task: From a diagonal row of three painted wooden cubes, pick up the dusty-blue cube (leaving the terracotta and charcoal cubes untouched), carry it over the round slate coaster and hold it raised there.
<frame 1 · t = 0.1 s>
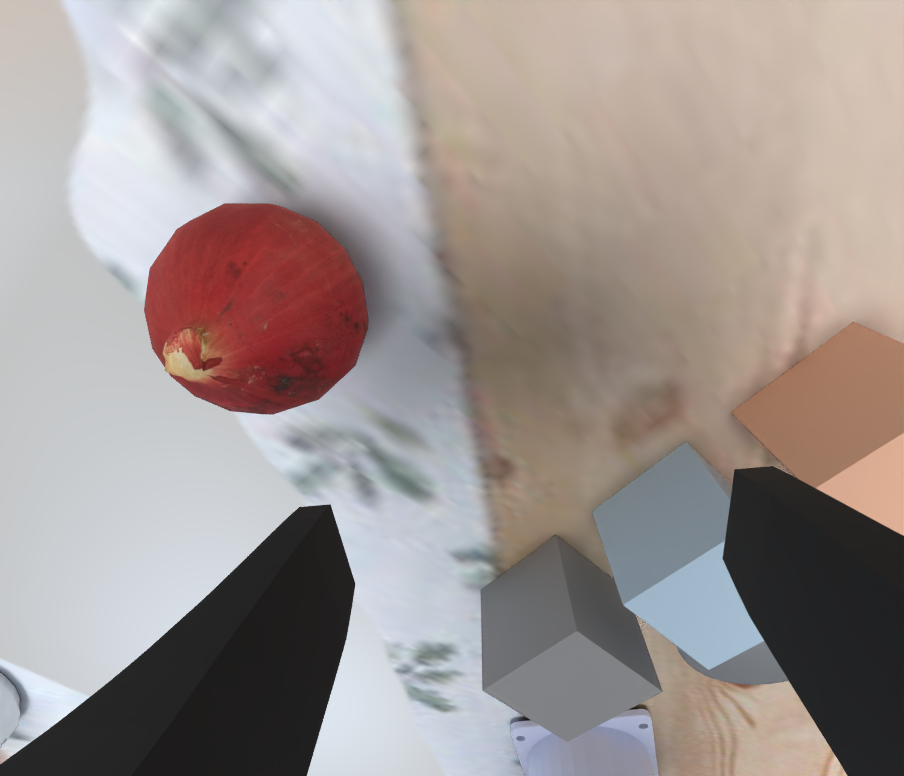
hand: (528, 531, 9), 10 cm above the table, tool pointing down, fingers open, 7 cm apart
blue cube: (672, 508, 21), on the table
slate coaster: (763, 610, 23), on the table
onion: (308, 280, 17), on the table
charcoal cube: (552, 588, 23), on the table
terracotta cube: (823, 408, 18), on the table
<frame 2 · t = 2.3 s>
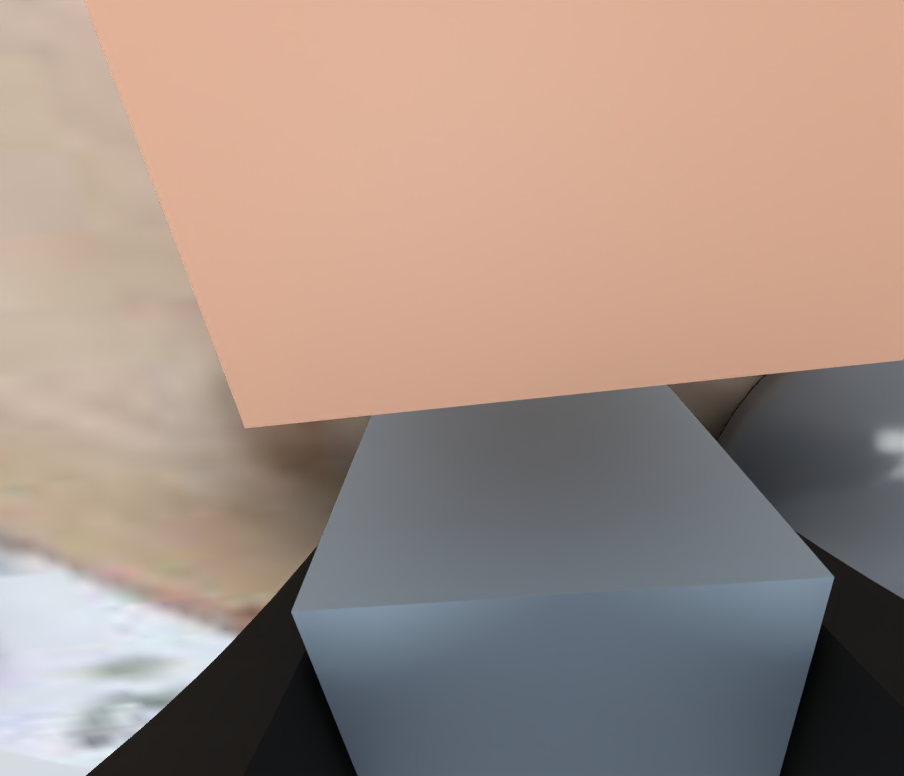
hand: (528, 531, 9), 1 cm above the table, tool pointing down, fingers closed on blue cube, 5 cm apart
blue cube: (520, 483, 10), on the table, touching gripper
terracotta cube: (494, 99, 7), on the table
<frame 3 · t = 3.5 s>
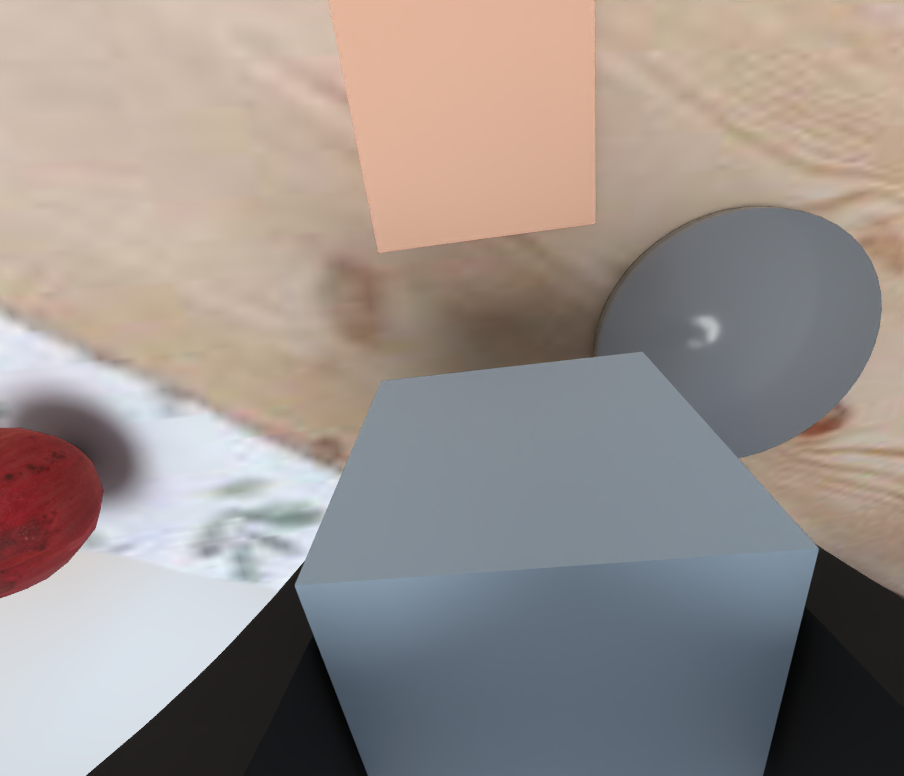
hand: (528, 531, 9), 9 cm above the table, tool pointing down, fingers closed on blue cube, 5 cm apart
blue cube: (518, 473, 10), point 8 cm above the table, touching gripper
slate coaster: (723, 342, 17), on the table
onion: (80, 449, 20), on the table
terracotta cube: (472, 128, 14), on the table
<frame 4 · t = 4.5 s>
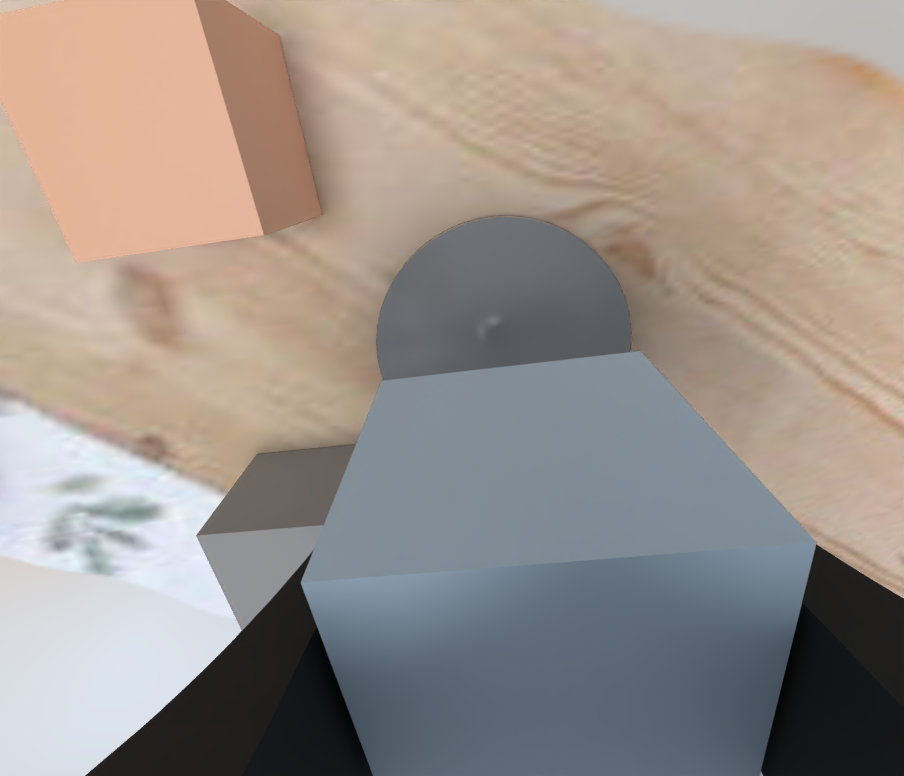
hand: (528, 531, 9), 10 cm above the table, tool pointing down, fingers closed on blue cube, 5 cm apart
blue cube: (518, 472, 10), point 8 cm above the table, touching gripper
slate coaster: (500, 343, 18), on the table
charcoal cube: (328, 494, 21), on the table
terracotta cube: (228, 143, 15), on the table
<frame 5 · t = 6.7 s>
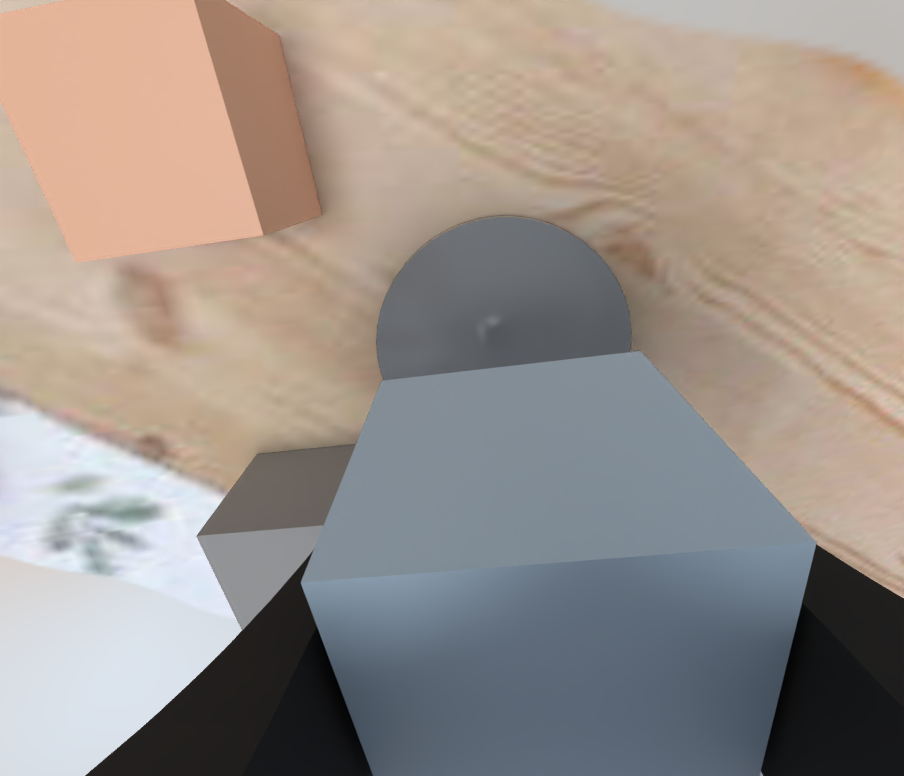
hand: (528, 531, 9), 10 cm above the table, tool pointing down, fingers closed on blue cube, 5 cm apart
blue cube: (518, 472, 10), point 8 cm above the table, touching gripper
slate coaster: (500, 343, 18), on the table
charcoal cube: (328, 494, 21), on the table
terracotta cube: (228, 143, 15), on the table
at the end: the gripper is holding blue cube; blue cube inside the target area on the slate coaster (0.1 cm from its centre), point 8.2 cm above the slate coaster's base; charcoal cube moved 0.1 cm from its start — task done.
